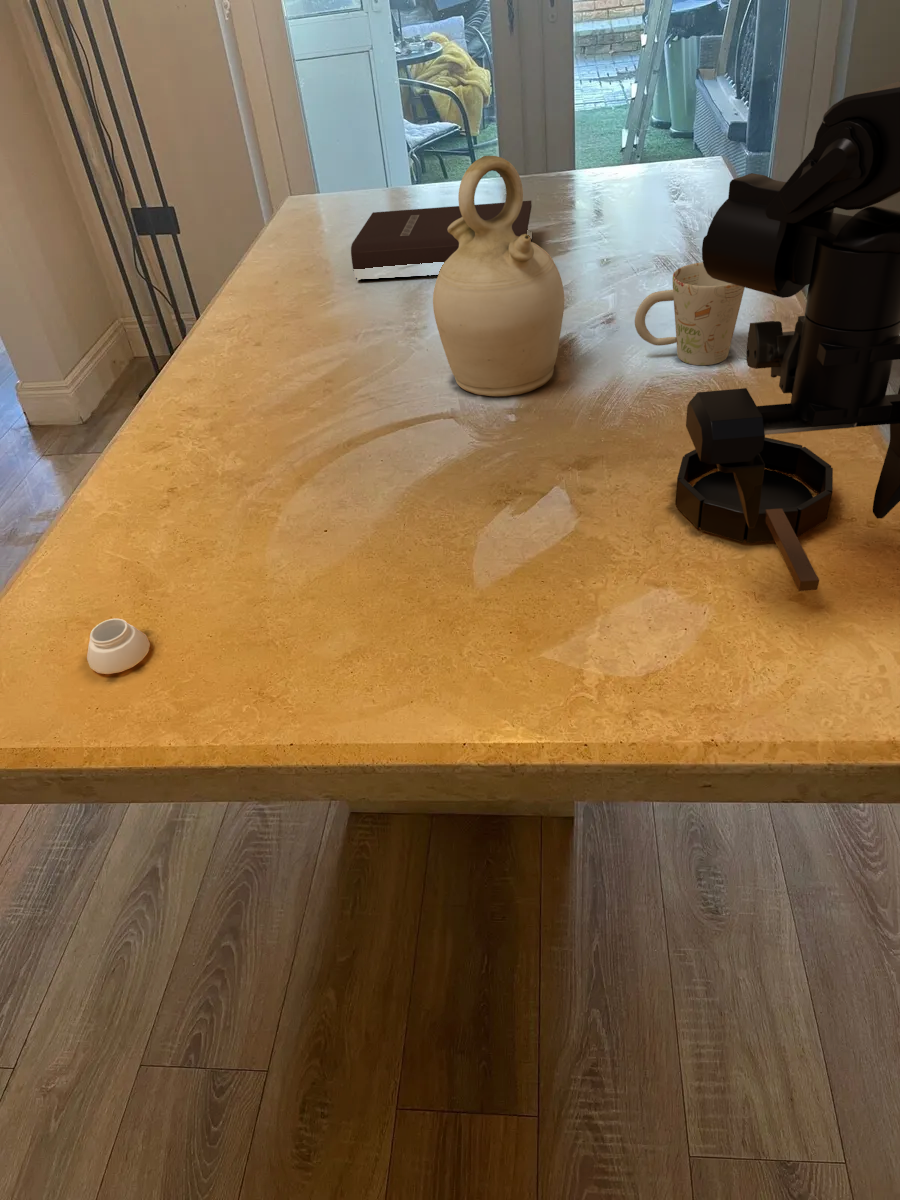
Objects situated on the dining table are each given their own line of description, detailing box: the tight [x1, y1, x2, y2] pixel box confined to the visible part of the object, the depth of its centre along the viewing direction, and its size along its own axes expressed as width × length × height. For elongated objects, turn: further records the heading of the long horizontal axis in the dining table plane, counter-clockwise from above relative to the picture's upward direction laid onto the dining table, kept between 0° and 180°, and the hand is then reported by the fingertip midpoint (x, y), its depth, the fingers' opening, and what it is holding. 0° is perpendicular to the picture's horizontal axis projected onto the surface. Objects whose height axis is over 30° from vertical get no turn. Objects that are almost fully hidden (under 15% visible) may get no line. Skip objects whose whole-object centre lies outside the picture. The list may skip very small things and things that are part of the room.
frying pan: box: [674, 436, 834, 592], centre depth 74 cm, size 23×14×4 cm, turn 179°
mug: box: [634, 261, 745, 366], centre depth 102 cm, size 8×13×10 cm, turn 89°
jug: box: [432, 155, 565, 397], centre depth 98 cm, size 15×16×25 cm
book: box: [350, 200, 533, 270], centre depth 142 cm, size 28×20×6 cm
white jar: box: [86, 617, 151, 675], centre depth 70 cm, size 5×3×5 cm
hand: (813, 520), depth 63 cm, fingers open, 9 cm apart
